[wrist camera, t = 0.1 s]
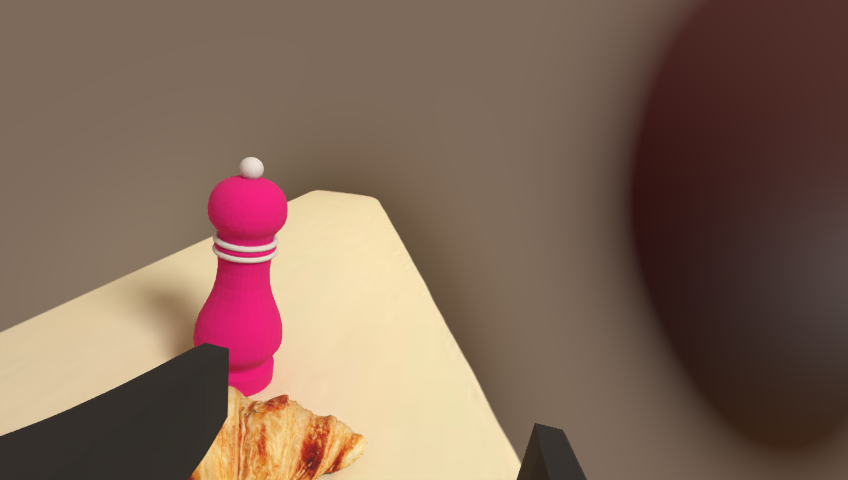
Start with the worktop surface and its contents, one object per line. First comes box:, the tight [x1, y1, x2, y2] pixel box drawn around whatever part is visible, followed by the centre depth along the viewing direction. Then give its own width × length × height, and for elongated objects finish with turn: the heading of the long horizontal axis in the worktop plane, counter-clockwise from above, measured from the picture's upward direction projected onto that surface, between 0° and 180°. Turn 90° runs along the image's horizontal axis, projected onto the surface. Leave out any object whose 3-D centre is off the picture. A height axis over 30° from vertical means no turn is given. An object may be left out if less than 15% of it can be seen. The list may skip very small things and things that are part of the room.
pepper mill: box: [193, 157, 288, 397], centre depth 43 cm, size 7×7×20 cm
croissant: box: [188, 386, 367, 480], centre depth 35 cm, size 21×10×8 cm, turn 110°
